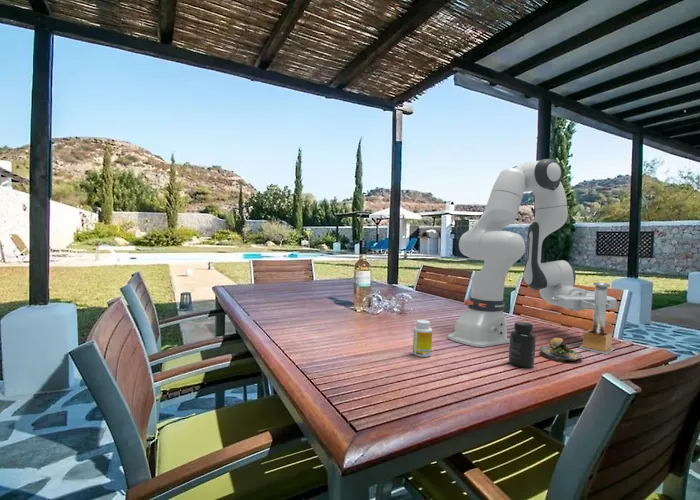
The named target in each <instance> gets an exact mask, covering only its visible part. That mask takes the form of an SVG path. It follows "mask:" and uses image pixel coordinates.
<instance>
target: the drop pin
mask: <svg viewBox="0 0 700 500" xmlns="http://www.w3.org/2000/svg"><path fill="white" fill-rule="evenodd" d="M593 286H595V287H594V288H595V289H594V291H595V300H594V303H596V304H597V305H598V306H597V309H593V317H592V318H593V319H592V329H591V330H592V332H594V333H598V334H604V332H605V327H606V315H607V309H606V303H607V296H608V288H610V286H611V284H610V283H607V282H596V281H595V282H593Z"/></svg>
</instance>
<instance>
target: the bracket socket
mask: <svg viewBox="0 0 700 500" xmlns="http://www.w3.org/2000/svg"><path fill="white" fill-rule="evenodd" d="M612 343H613V333H610V332H605V331H604V334H598V333H594V332H592V329H588V330H585V331H583V334H582V344H581V345H579V346H578V347H579V349H581V350H585V349H586V350H585V351H589V350H590V351H591V352H594V353H598V354H603V355H609V354H610V353H612V352H614V351H615V348H613V347H612ZM613 350H614V351H613Z"/></svg>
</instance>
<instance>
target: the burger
mask: <svg viewBox="0 0 700 500" xmlns="http://www.w3.org/2000/svg"><path fill="white" fill-rule="evenodd" d="M552 335H553V338H552V339H551V340H550V341H549V346H547V345H546V346H541V347H539V350H540V351H539V352H538V353H539V355H540V356H541V357H543V358H545V359H547V360H549V361H553V362H559V363H564V362H565V361H577V360H579V359H582V358H583V357H584V356H583V355H582V354H581V353H579V352H577V351H575V350H573V349H570V348H569V346H567V344H565V343H564V342H563V341H564V339H563V338H561V337H555V335H554V334H552Z"/></svg>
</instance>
